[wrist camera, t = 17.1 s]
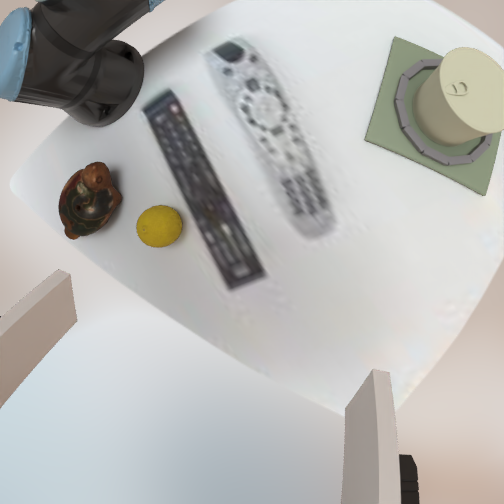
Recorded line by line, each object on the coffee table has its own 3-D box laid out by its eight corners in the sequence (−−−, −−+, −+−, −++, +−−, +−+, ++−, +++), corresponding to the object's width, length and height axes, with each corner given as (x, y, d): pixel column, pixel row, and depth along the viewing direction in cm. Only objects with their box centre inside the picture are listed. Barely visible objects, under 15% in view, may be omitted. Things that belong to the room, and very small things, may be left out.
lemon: (186, 246, 45) (158, 258, 37) (154, 236, 46) (123, 245, 38) (194, 208, 44) (166, 213, 36) (161, 199, 45) (129, 202, 37)
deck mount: (364, 140, 37) (366, 137, 34) (393, 39, 32) (396, 31, 30) (482, 195, 34) (490, 196, 31) (504, 95, 29) (512, 90, 27)
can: (403, 83, 33) (426, 46, 21) (461, 77, 30) (498, 45, 19) (423, 151, 34) (458, 137, 23) (482, 142, 31) (528, 129, 20)
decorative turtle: (144, 177, 45) (111, 182, 37) (104, 250, 50) (73, 265, 43) (104, 143, 45) (70, 143, 37) (70, 215, 50) (38, 225, 43)
